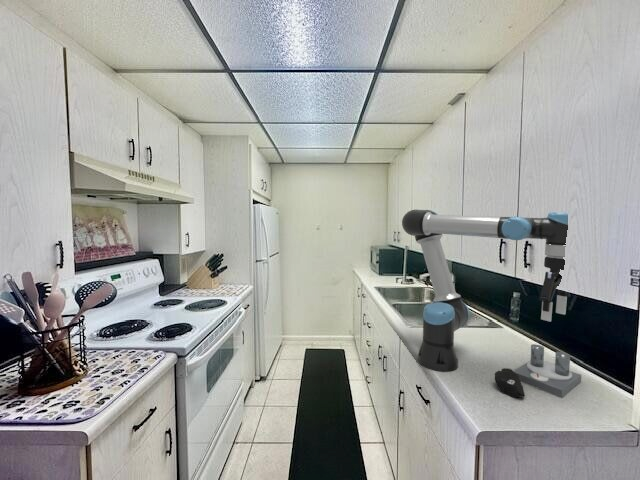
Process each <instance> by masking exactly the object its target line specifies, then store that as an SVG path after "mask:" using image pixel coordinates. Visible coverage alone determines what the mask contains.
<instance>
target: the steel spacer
mask: <svg viewBox="0 0 640 480" xmlns="http://www.w3.org/2000/svg"><path fill="white" fill-rule="evenodd" d="M554 354H555V356H554V357H555V359H554V364H555V373H556V374H558V375H561V376H569V371H570V370H571V369H570V366H571V365H570V364H571V355H570V354H569V353H567V352H563V351H555V353H554Z"/></svg>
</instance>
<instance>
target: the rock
mask: <svg viewBox="0 0 640 480" xmlns="http://www.w3.org/2000/svg"><path fill="white" fill-rule="evenodd" d="M513 370H514V369H511V368H507V367H505V368H501V370H498V371H495V372H494V382H495V385H496V387H497V388H498V390H499V391H500V393H502V394H507V395H509V396H510V397H512V398H518V397H523V398H524V397H526V395H525V391H524V386H523V384H522V382H521V381H520V379H519V376H518V374H517V373H515V372H513Z"/></svg>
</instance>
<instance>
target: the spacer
mask: <svg viewBox="0 0 640 480" xmlns="http://www.w3.org/2000/svg"><path fill="white" fill-rule="evenodd" d="M544 359H545V347H544V346H543V345H540V344H534V343H533V344H531V345H530V360H529V361H530V364H531V365H533V366H535V367H543V365H544Z"/></svg>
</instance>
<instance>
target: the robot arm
mask: <svg viewBox="0 0 640 480" xmlns="http://www.w3.org/2000/svg"><path fill="white" fill-rule="evenodd" d="M401 226H402V229H403V230H404V232H405V233H406V234H408V235H410V236H413V237H414V239H415V242H416V243H417V244H419V245H420V247H421V251H422V254H423V257H424V262H425V265H426V268H427V271H428V274H429V277H430V281H431V285H432V288H433V292H434V298H433V301H432V302H431V303H428V304H425V306H424V308H423V312H422V313H423V314H422V318H423V319H422V343H421V345H420V348H419V350H418V353H417V354H418V355H417V361H418V363H419V364H420V365H422V366H423V367H425V368H427V369H430V370H434V371H438V372H439V371H440V372H451V371H454V370H455V371H456V369H458V366H459V359H458V357H457V353H456V350H455V346H454V342H455V332H456V331H457V330H459V329H461V328H463V327H464V326H465V325H466V324H467V323H468V321H469V319H470V315H471V312H470V309H469V307H468V305H467V304H466V303H465V302H464V301H463V299H462V296H461V294H459V293H457V292H456V289H455V286H454V285H455V284H454V282H453V280H452V275H451V272H450V269H449V266H448V265H449V264H448V261H447V259H446V254H445V252H444V249H443V244H442V242H441V238H442V237H443V235H453V236H467V237H480V238H481V237H482V238H490V239H491V238H494V239H505V240H510V241H511V240H512V241H521V240H522V241H523V240H524V239H533V240H534V239H538V240H545V245H544V246H545V247H544V263H543V266H544V267H545V268H547V269H549V271H545V273H544V274H545V275H544V280H543V285H542V287H541V292H540V296H539V298H538V301H541V315H540V320H543V321H545V322H546V321H547V322H552V317H553V316H552V314H553V305H554V304H553V299H554V296H555V293H556V290H557V295H556V303H555V304H556V305H555V313H556V314H559V315H563V316H565V315H566V313H567V312H566V311H567V300H568V298H569V297H571V294H570V293H568V292H565V291H561V290H558V289H557V286H559V284H560V282H561V279H562V276H561V275H560V274H559V272H560V269H561V270H564V265H565V260H564V259H563V257H565V247H566V246H563V245H566V244H565V243H566V237H567V230H568V214H567V213H565V212H564V211H563V212H562V211H561V212H557V211H555V212H554V211H553V212H549V213H548V214H547V216H546V217H521V216H489V215H485V216H484V215H461V214H460V215H457V214H456V215H455V214H438V212H435V211H434V210H429V209H412V210H408V211H407V212H405V214H404V215H403V217H402V219H401ZM549 244H551V245H549Z"/></svg>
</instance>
